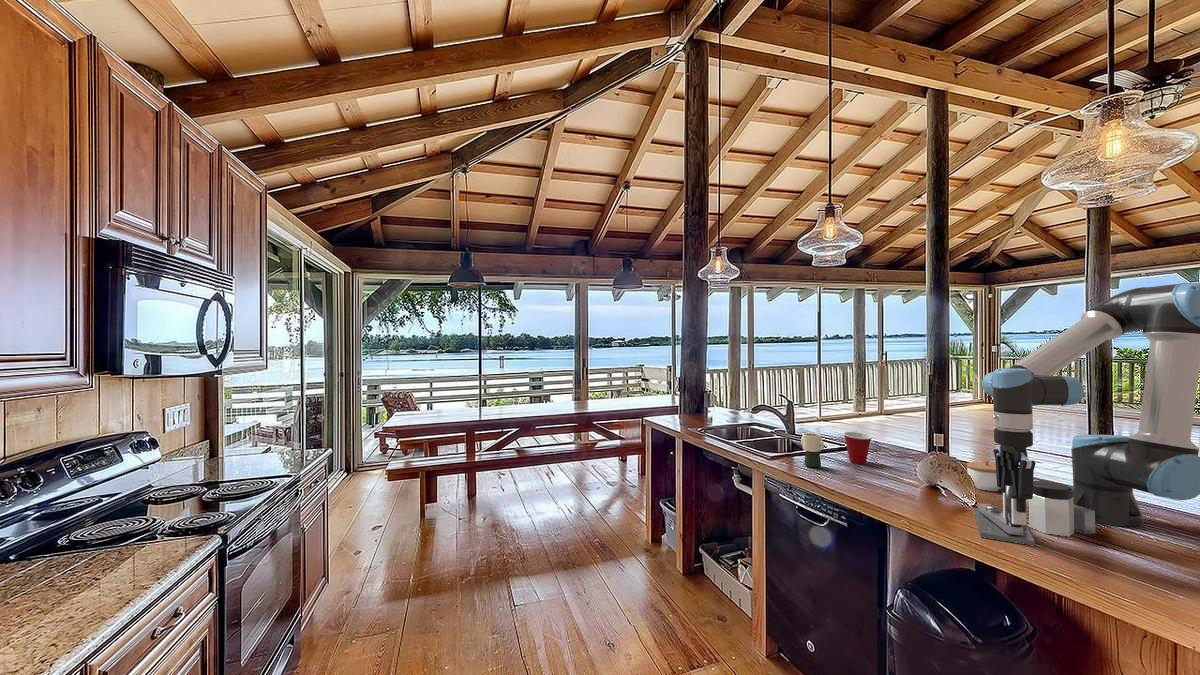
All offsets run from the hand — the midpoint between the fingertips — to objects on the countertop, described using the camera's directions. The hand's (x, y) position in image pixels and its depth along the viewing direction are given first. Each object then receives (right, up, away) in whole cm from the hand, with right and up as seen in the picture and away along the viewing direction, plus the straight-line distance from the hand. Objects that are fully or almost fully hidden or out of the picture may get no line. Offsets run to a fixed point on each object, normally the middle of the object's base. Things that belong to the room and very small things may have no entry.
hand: (1014, 521), depth 121 cm
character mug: (-19, -6, +72) cm, 74 cm away
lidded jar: (+26, -5, +40) cm, 48 cm away
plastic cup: (+2, -5, +76) cm, 76 cm away
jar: (+14, -5, +5) cm, 16 cm away
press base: (+3, -5, +7) cm, 9 cm away
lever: (+3, -3, +7) cm, 8 cm away
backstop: (+21, -4, +6) cm, 22 cm away
